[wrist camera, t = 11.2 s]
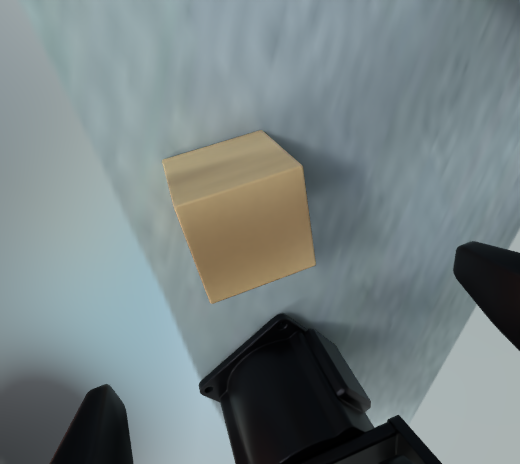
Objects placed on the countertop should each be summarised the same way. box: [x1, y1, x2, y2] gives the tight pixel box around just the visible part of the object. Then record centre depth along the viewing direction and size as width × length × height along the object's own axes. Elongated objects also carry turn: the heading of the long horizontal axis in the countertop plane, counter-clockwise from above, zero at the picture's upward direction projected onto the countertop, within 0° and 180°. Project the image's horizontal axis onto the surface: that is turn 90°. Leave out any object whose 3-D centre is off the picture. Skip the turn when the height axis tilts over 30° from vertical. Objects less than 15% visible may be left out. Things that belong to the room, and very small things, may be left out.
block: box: [162, 130, 316, 304], centre depth 13 cm, size 4×4×4 cm
